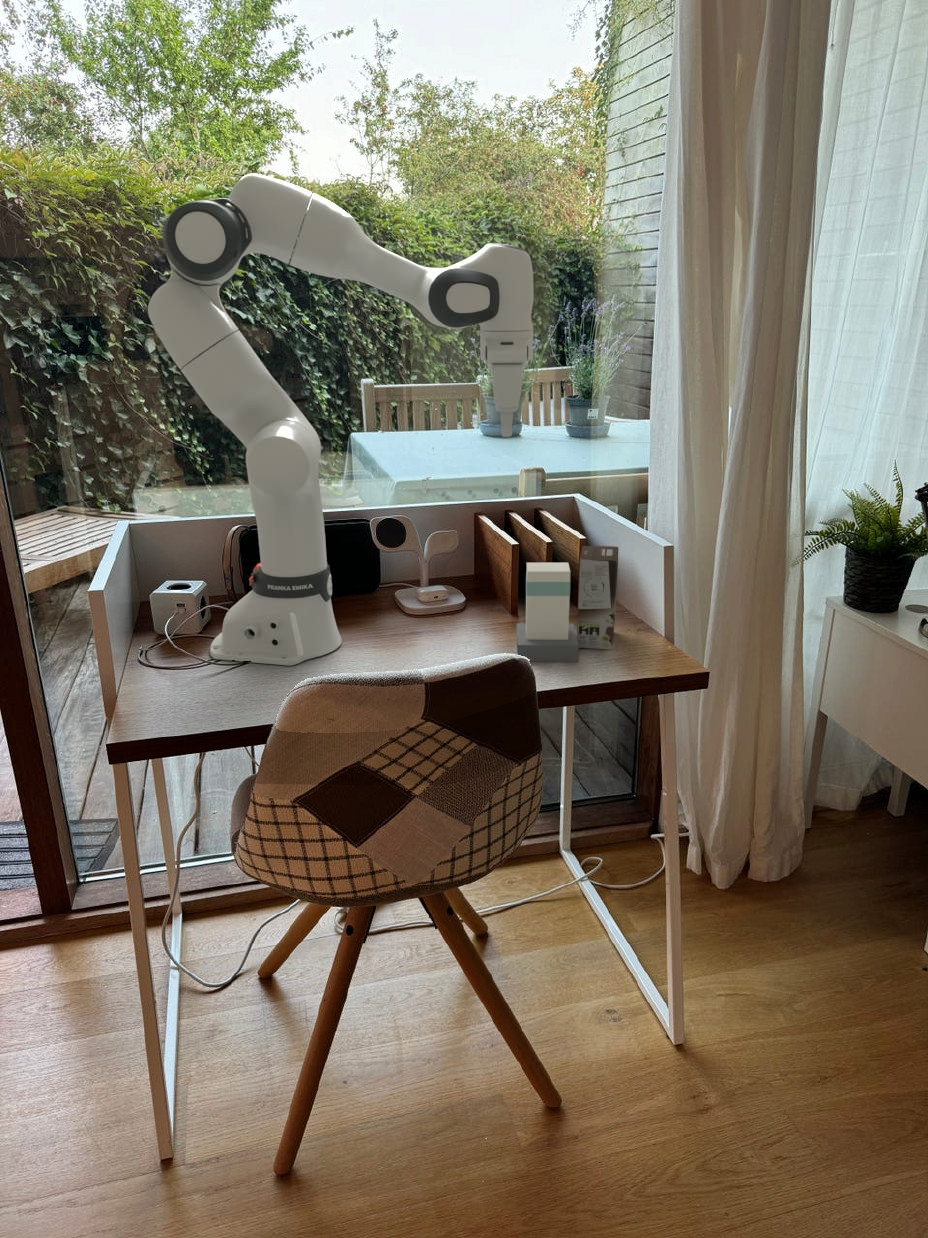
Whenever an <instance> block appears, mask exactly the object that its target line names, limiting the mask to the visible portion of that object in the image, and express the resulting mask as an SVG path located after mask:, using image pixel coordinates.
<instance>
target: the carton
mask: <svg viewBox="0 0 928 1238" xmlns="http://www.w3.org/2000/svg"><path fill="white" fill-rule="evenodd" d="M570 569H571V568H570V565H569V562H526V572H525V624H526V639H535V640H568V629H569V624H570V596H571V570H570Z"/></svg>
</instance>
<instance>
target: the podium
mask: <svg viewBox="0 0 928 1238" xmlns="http://www.w3.org/2000/svg"><path fill="white" fill-rule="evenodd" d="M517 654H518V655H521V656H525V657H527V658H528V659H530V661H531V663H532V662H533V663H535V662H536V663H539V662H540V663H545V662H546V663H554V662H555V663H578V662H579V661H578V660H579V648H578V641H577V631H576V629H575V625H574V623H569V629H568V640H535V639H526V623H516V655H517Z"/></svg>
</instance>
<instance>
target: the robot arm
mask: <svg viewBox="0 0 928 1238" xmlns="http://www.w3.org/2000/svg"><path fill="white" fill-rule="evenodd" d="M229 193H230V194H229V196H228V197H220V198H212V199H201V200H200V199H199V200H193V201H189V202H188V201H187V202H185V203H183V204H180V205H179V206H177V207H176V208H174V209H173V211H172V212H170V214H169V216H168V217H167V218H166V220H165V224H164V225H163V226H164V227H163V230H162V241H163V242H162V243H163V247H164V251H165V254H166V255H165V256H166V258H167V260H168V263H169V266H170V269H171V271H170V277H169V278H168V280H167V282H164V283H163V284H162V285H161V286H159V287H158V288H157V289H156V290H155V292H154V293H153V294H152V296H151V298H150V300H149V302H148V305H147V315H148V317H149V320H150V321H151V324H152V326H153V328H154V330H155V332H156V334H157V335H158V338H159V339H160V341H161V344H163V346H164V348H165V349H166V351H167V353H168V354H169V356H170V357H171V359H172V360H173V362H174V363H175V364H176V366H177V367H178V368H179V370H180V371H181V373H182V374H183V375H184V377H185V378H186V380H187V381H188V382H189V384H190V385H191V387H192V388H193V389H194V390H195V392H196V393H197V394H198V396H199V397H200V399H201V400H202V401H203V402H204V404H205V405H206V406H207V408H208V410H210V412H211V414H213V415H214V416H215V417H216V418H218V419H219V420H220V422H222V423H223V424H224V425H225V426H226V427H227V429H229V430H230V431H231V432H232V433H233V434H234V436H235V437H237V439H238V440H239V441H240V443H242V444H243V446H244V447H245V448H246V452H245V465H246V466H245V467H246V473H247V478H248V485H249V491H250V497H251V502H252V506H253V511H254V516H255V521H256V527H257V534H258V535H257V538H258V547H259V557H260V562H259V563H257V564H256V566H255V567H254V568H253V570H252V573H251V574H250V577H249V579H248V580H249V586H250V587H251V589H252V590H250V591H249V592H248V593H247V594H246V595H244V596H243V597H242V598H240V600H238V601H237V602H236V603H235V604H234V605H232V606H231V608H230V609H229V610H228V611H227V612H226V614H225V616H224V619H223V623H222V630H221V631H222V632H220V633H219V634H218V635H217V636H215V638H214V639H213V640H212V642H211V644H210V647H209V648H210V651H209V652H210V653H209V654H210V657H211V656H212V657H213V658H212V657H211V658H212V659H214V660H221V661H222V660H223V661H232V660H235V661H234V662H243V661H251V662H250V663H255V664H256V663H257V664H265V665H266V664H268V665H269V664H270V665H278V666H279V665H280V666H295V665H297V664H300V663H302V662H304V661H306V660H309V659H313V658H317V657H318V658H319V657H321V656H325V655H327V654H329V653H332V652H333V651H335V650H337V649H338V648H340V646H341V645H342V641H343V640H342V637H341V635H340V632H339V630H338V626H337V623H336V618H335V614H334V611H333V610H334V609H333V604H332V599H331V598H332V595H333V583H332V574H331V569H330V565H329V564H328V561H327V560H328V559H327V547H326V546H327V545H326V532H325V531H326V530H325V519H324V513H323V512H324V511H323V505H322V496H321V486H320V479H319V478H320V477H319V476H320V475H319V465H320V464H319V463H320V458H321V454H322V445H321V440H320V437H319V435H318V433H317V431H316V429H315V428H314V426H313V425H312V424H311V423H310V422H309V420H308V419H307V418H306V416H305V415H304V414H303V412H302V410H300V409H299V407H298V406H297V404H296V403H295V402H294V401H293V400H292V398H290V396H289V395H288V394H287V393H286V391H285V390H284V389H283V388H282V386H281V385H280V384H279V383H278V382H277V381H276V379H275V378H274V377H273V376H272V375H271V373H270V371H269V370H268V369H267V367H266V366H265V365H264V363H263V362H262V361H261V359H260V358H259V356H258V355H257V354H256V352H255V351H254V349H253V347H252V346H251V345H250V343H249V342H248V340H247V339H246V337H244V334H243V333H242V332H241V330H239V327H238V325H236V323H235V322H234V321H233V319H232V318H231V317H230V316H229V314H228V313H227V311H226V309H225V307H224V305H223V302H222V300H221V297H220V294H221V293H222V291H223V290H224V288H225V287H226V286H227V284H229V282H230V281H231V280H232V278H233V277H234V275H235V274H236V272H237V270H238V268H239V266H240V263H241V261H242V259H243V257H246V256H247V255H249V254H260V255H266V256H269V257H272V258H274V259H277V260H278V261H281V262H282V263H284V264H286V265H289V266H291V267H294V268H297V269H298V270H302V271H305V272H307V273H310V274H313V275H318V276H322V277H327V278H332V279H339V280H340V279H341V280H342V279H343V280H351V281H356V282H359V283H363V284H366V285H369V286H371V287H373V288H375V289H378V290H379V291H382V292H384V293H385V294H388V295H390V296H393V297H395V298H397V299H399V300H401V301H403V302H405V303H407V304H408V305H410V307H412V308H413V309H414V310H415V311H416V313H417V314H418V315H419V316H420V317H421V318H422V320H424V321H425V323H427V324H429V325H430V326H432V327H434V328H436V329H437V328H438V329H443V330H448V329H451V330H462V329H465V328H468V327H470V326H474V325H479V327H480V328H479V329H480V330H479V334H480V335H479V336H480V339H479V342H480V345H479V346H480V347H479V348H480V355H479V356H480V360H482V361H485V362H486V363H487V370H489V371H490V374H491V382H492V390H493V391H492V392H493V400H494V408H495V411H496V412H498V413H500V414H499V416H500V418H499V419H500V434H501V435H500V436H501V437H503V438H505V437H506V438H509V437H512V435H513V421H514V420H513V419H514V412H517V411H518V409H519V405H520V399H521V389H522V382H523V381H522V380H523V373H524V370H525V369H526V363H527V362H528V361H529V360H530V361H531V360H532V359H533V357H534V356H533V355H534V325H533V322H532V309H533V305H534V302H535V301H534V298H535V297H534V294H535V293H534V288H535V287H534V273H533V271H534V269H533V264H532V260H531V255H530V254H529V253H528V252H527V250H525V249H524V248H522V247H520V246H517V245H513V244H507V243H499V242H492V243H491V242H490V243H487V244H486V243H485V245H484V246H483V247H482V248H481V249H480V250H478V251H477V252H475V253H474V254H472V255H471V256H469V257H467V258H464V259H463V260H461V261H459V262H456V263H454V264H452V265H449V266H434V267H433V266H424V265H420V264H417V263H415V262H413V261H412V260H409V259H407V258H405V257H404V256H401V255H399V254H396V253H395V252H392V251H390V250H388V249H387V248H384V247H382V246H380V245H378V244H377V243H376V242H374V241H373V240H372V239H371V238H370V237H368V236H367V234H366V233H365V232H364V230H362V228H361V227H360V225H359V223H357V221H356V220H355V218H354V217H353V216H352V215H351V214H350V213H348V212H347V211H345V210H344V209H343V208H341V207H339V205H337V204H336V203H334V202H332V201H331V200H329V199H326V198H325V197H323V196H321V195H319V194H317V193H315V192H313V193H312V191H310V190H308V189H305V188H303V187H300V186H299V185H295V184H293V183H291V182H287V181H285V180H281V179H278V178H274V177H271V176H267V175H264V174H258V173H248V174H245V175H244V176H242V177H240V179H238V180H237V182H236V183H235V184H234V186H233V187H232V189H231V191H230V192H229Z"/></svg>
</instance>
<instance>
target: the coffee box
mask: <svg viewBox="0 0 928 1238" xmlns="http://www.w3.org/2000/svg"><path fill="white" fill-rule="evenodd" d="M618 566H619V546H610V545H609V546H607V545H595V546H594V545H583V546H582V549H581V552H580V556H579V572H578V573H579V574H578V592H577V593H578V594H577V597H578V598H577V619H576V621H577V623H576V624H577V625H576V637H577V641H578V649H579V648H580V649H581V648H582V649H592V650H606V651H612V650H613V642H614V634H615V625H616V623H615V622H616V612H617V611H616V610H617V609H616V608H617V593H618V592H617V591H618V574H619V573H618V569H619V567H618Z"/></svg>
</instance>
